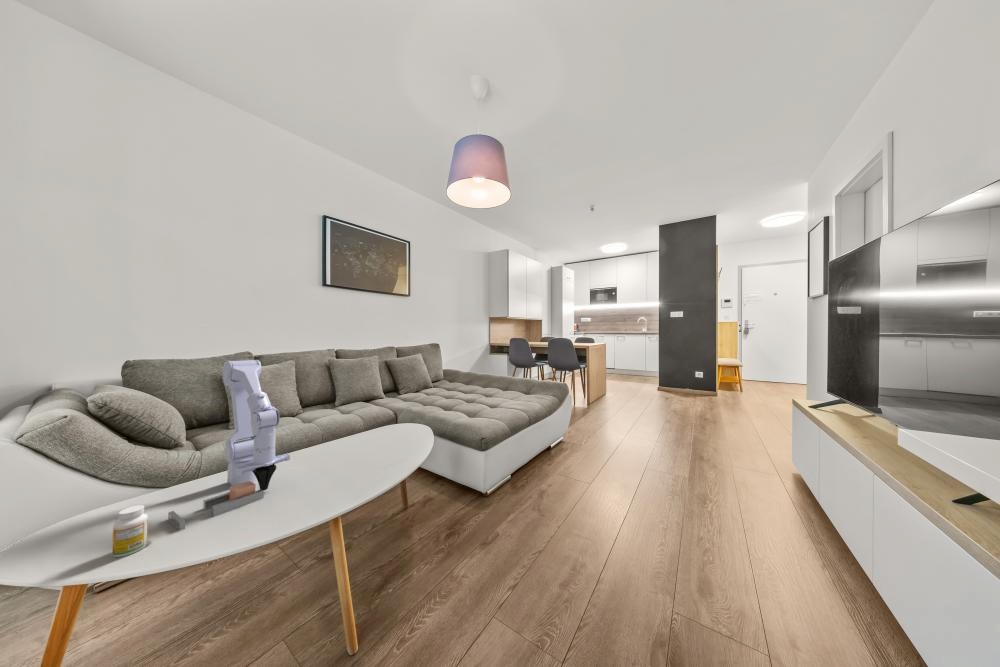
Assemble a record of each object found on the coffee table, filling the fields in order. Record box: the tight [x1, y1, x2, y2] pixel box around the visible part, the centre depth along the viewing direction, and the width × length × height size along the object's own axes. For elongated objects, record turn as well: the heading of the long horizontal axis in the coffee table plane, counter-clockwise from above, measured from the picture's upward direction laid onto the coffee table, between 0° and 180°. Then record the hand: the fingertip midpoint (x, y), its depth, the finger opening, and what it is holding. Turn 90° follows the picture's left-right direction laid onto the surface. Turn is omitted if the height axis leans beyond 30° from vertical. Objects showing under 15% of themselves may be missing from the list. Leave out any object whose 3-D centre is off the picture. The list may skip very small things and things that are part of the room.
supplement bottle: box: [111, 504, 149, 558], centre depth 74 cm, size 5×5×10 cm
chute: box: [167, 488, 265, 532], centre depth 92 cm, size 10×22×4 cm, turn 149°
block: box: [229, 481, 256, 500], centre depth 96 cm, size 4×5×4 cm
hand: (263, 489), depth 100 cm, fingers closed
